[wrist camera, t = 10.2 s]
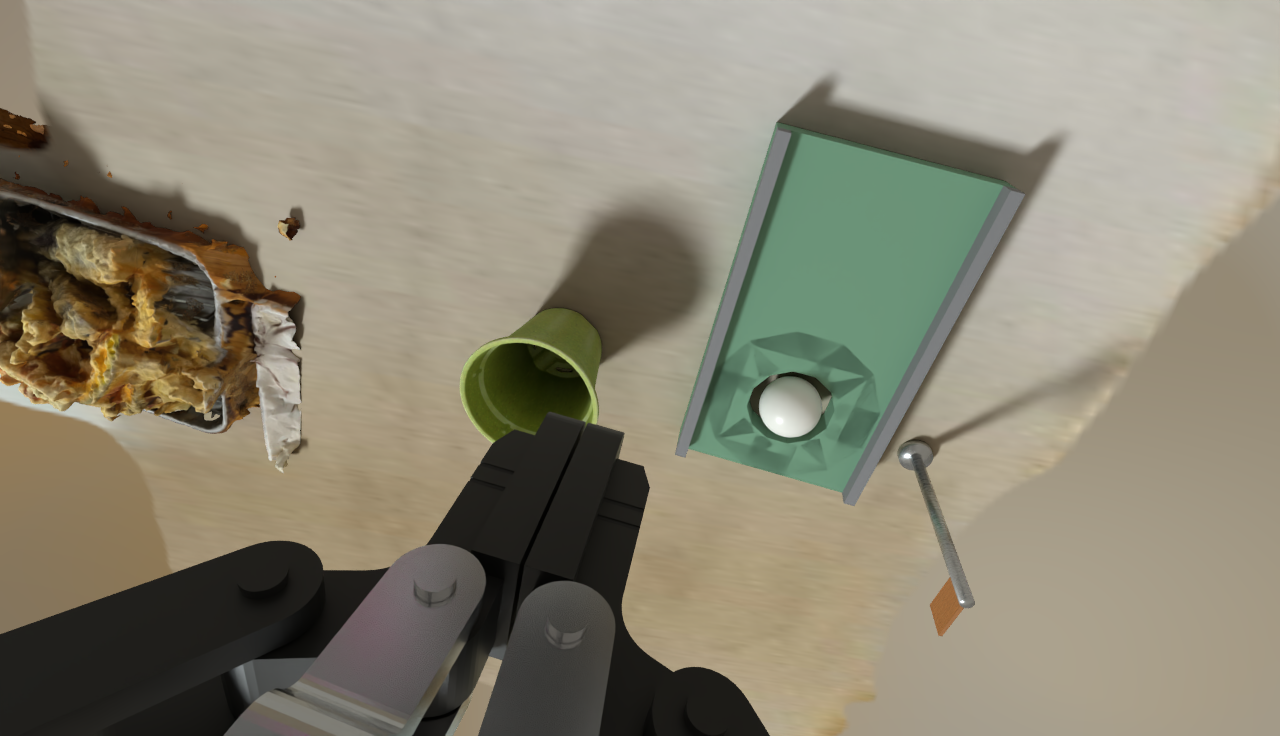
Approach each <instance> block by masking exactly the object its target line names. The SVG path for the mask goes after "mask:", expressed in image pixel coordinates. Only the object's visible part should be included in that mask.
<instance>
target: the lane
mask: <svg viewBox="0 0 1280 736" xmlns="http://www.w3.org/2000/svg"><path fill="white" fill-rule="evenodd" d="M1024 196H1025V194H1024V193H1023V192H1021V191H1020V190H1018V189H1016V188H1015V187H1013V186H1012V185H1010V184H1009V183H1007V182H1006V181H1002V180H998V179H994V178H991V177H987V176H983V175H979V174H975V173H971V172H967V171H964V170H960V169H956V168H952V167H948V166H944V165H940V164H936V163H933V162H929V161H925V160H921V159H917V158H913V157H909V156H906V155H902V154H898V153H894V152H890V151H886V150H882V149H879V148H875V147H871V146H867V145H863V144H859V143H855V142H852V141H848V140H844V139H840V138H836V137H832V136H828V135H824V134H821V133H817V132H813V131H809V130H805V129H801V128H797V127H794V126H790V125H786V124H782V123H778V122H777V123H776V126H775V129H774V132H773V136H772V139H771V142H770V145H769V148H768V151H767V155H766V158H765V161H764V164H763V167H762V171H761V174H760V177H759V180H758V183H757V187H756V190H755V193H754V196H753V199H752V203H751V206H750V209H749V212H748V215H747V219H746V222H745V225H744V228H743V231H742V235H741V238H740V241H739V244H738V247H737V251H736V254H735V257H734V260H733V263H732V267H731V270H730V273H729V276H728V279H727V282H726V286H725V289H724V292H723V295H722V298H721V302H720V305H719V308H718V311H717V314H716V318H715V321H714V324H713V327H712V330H711V334H710V337H709V340H708V343H707V346H706V350H705V353H704V356H703V359H702V362H701V366H700V369H699V372H698V375H697V378H696V382H695V385H694V388H693V391H692V394H691V397H690V401H689V404H688V407H687V410H686V413H685V417H684V420H683V423H682V426H681V429H680V434H679V438H678V443H677V448H676V453H675V455H678V456H681V457H686V454H687V451H688V449H691V450H695V451H698V452H702V453H705V454H709V455H712V456H716V457H719V458H723V459H726V460H730V461H733V462H737V463H740V464H744V465H747V466H751V467H754V468H758V469H761V470H765V471H768V472H772V473H775V474H779V475H782V476H786V477H789V478H793V479H796V480H800V481H803V482H807V483H810V484H814V485H817V486H821V487H824V488H828V489H831V490H835V491H838V492H842V495H843V501H844V503H845V504H849V505H852V506H855V504H856V502H857V500H858V498H859V496H860V495H861V493H862V491H863V489H864V487H865V486H866V484H867V482H868V480H869V478H870V476H871V475H872V473H873V471H874V469H875V467H876V465H877V464H878V462H879V460H880V458H881V456H882V455H883V453H884V451H885V449H886V447H887V445H888V444H889V442H890V440H891V438H892V436H893V435H894V433H895V431H896V429H897V427H898V425H899V424H900V422H901V420H902V418H903V416H904V414H905V413H906V411H907V409H908V407H909V405H910V404H911V402H912V400H913V398H914V396H915V394H916V393H917V391H918V389H919V387H920V385H921V384H922V382H923V380H924V378H925V376H926V374H927V373H928V371H929V369H930V367H931V365H932V363H933V362H934V360H935V358H936V356H937V354H938V353H939V351H940V349H941V347H942V345H943V343H944V342H945V340H946V338H947V336H948V334H949V333H950V331H951V329H952V327H953V325H954V323H955V322H956V320H957V318H958V316H959V314H960V312H961V311H962V309H963V307H964V305H965V303H966V302H967V300H968V298H969V296H970V294H971V292H972V291H973V289H974V287H975V285H976V283H977V281H978V280H979V278H980V276H981V274H982V272H983V271H984V269H985V267H986V265H987V263H988V261H989V260H990V258H991V256H992V254H993V252H994V251H995V249H996V247H997V245H998V243H999V241H1000V240H1001V238H1002V236H1003V234H1004V232H1005V230H1006V229H1007V227H1008V225H1009V223H1010V221H1011V220H1012V218H1013V216H1014V214H1015V212H1016V210H1017V209H1018V207H1019V205H1020V203H1021V201H1022V200H1023V198H1024ZM793 371H794V372H797V373H801V374H805V375H808V376H812V377H815V378H817V379H818V380H819V381H820V382H821V383H822V384H823V385H824V386H825V387H826V388H827V389H828V390H829V391H830V392H831V395H832V398H831V400H830V402H829V404H828V406H827V408H826V411H825V413H824V414H823V415H821V417H820V419H819V421H818V423H817V425H816V426H815V427H814V428H813V429H812V430H811V431H810V432H808V433H806V434H805V435H802V436H799V437H783V436H780V435H777V434H775V433H774V432H772V431H771V430H770V429H769V428H768V427H767V426H766V425H765V424H764V422H763V420H762V418H761V417H760V416H759V415H757V414H756V413H755V412H754V411H753V410H752V408H751V404H750V400H749V399H750V396H751V393H752V391H753V388H755V387H756V386H757V385H759V384H760V383H761V382H762V381H764V380H765V379H766V378H768V377H769V376H770V375H776V374H782V373H787V372H793Z"/></svg>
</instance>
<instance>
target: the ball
mask: <svg viewBox="0 0 1280 736" xmlns="http://www.w3.org/2000/svg"><path fill="white" fill-rule="evenodd" d="M759 411H760V415H761V418H762V420H763V422H764V424H765V425H766V426H767V427H768V428H769V429H770V430H771V431H772V432H774V433H775V434H777V435H780V436H783V437H799V436H802V435H805V434H806V433H808V432H810V431H811V430H812V429H813V428H814V427H815V426H816V425H817V423H818V421H819V419H820V417H821V413H822V402H821V398H820V395H819V393H818V391H817V390H816V389H815V387H814V386H813V385H812V384H811V383H809V382H808V381H806V380H804V379H802V378H799V377H794V376H786V377H781V378H778V379H776V380H774V381H773V382H771V383H770V384H769V385H768V386H767V387H766V388H765V389H764V391H763V393H762V395H761V397H760V401H759Z"/></svg>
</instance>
